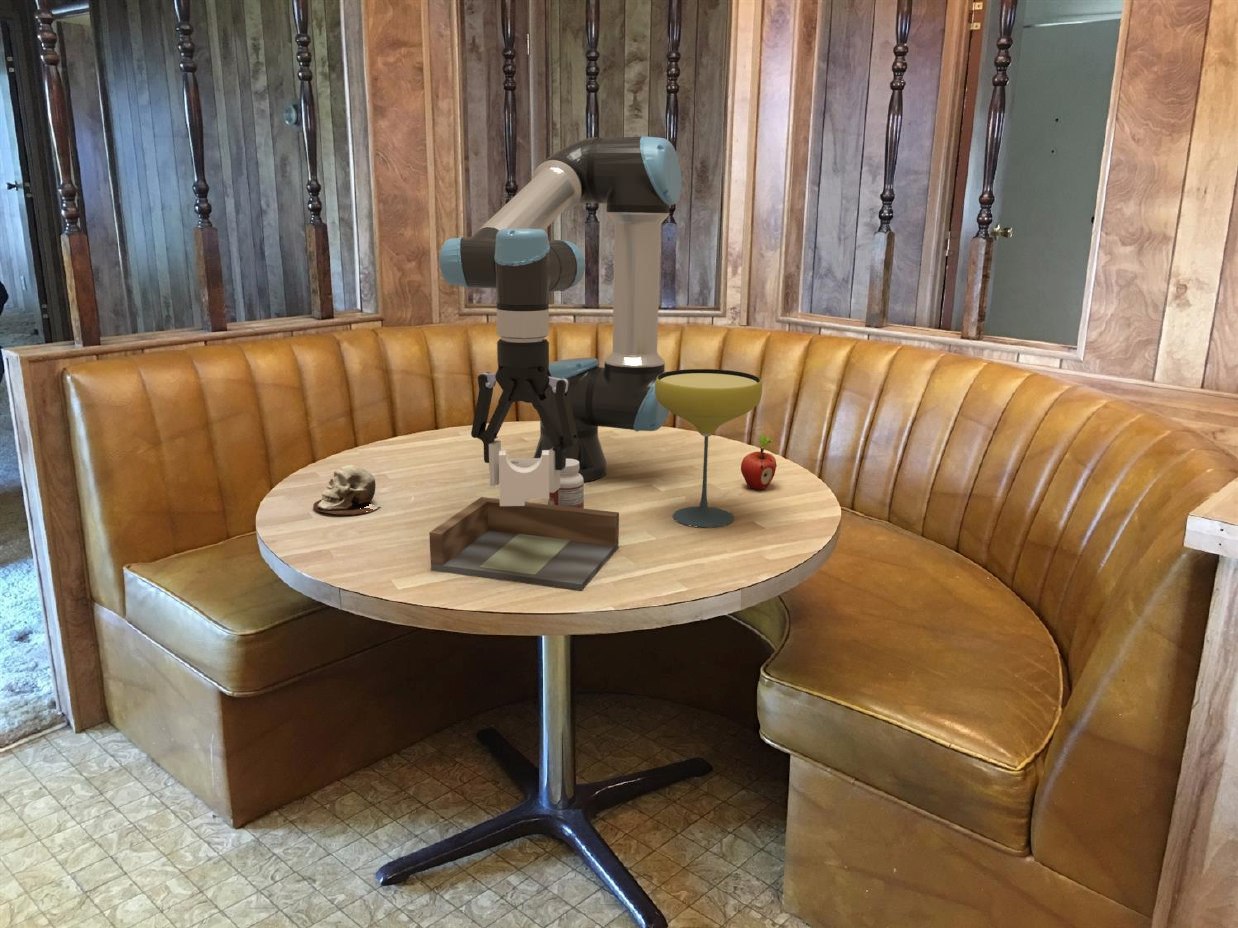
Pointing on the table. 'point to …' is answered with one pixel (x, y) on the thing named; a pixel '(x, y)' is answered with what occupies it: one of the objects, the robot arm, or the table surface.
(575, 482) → the pill bottle
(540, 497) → the bracket
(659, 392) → the cocktail glass
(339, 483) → the skull
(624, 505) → the table surface
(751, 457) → the apple
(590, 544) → the tray
